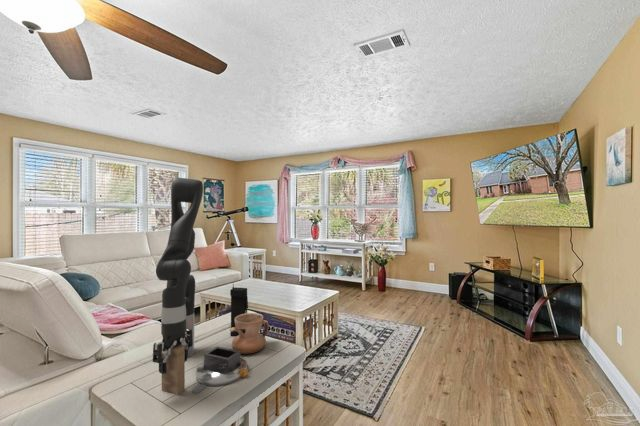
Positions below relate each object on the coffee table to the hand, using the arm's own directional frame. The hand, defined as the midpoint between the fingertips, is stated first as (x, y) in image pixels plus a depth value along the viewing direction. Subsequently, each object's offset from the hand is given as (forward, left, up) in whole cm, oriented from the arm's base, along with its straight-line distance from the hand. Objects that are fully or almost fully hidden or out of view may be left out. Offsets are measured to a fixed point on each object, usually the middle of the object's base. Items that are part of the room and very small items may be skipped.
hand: (173, 367), depth 100 cm
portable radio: (-8, +47, -8) cm, 48 cm away
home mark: (+8, +4, -8) cm, 12 cm away
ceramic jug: (+6, +35, -8) cm, 37 cm away
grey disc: (+8, +15, -8) cm, 19 cm away
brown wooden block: (0, 0, -8) cm, 8 cm away
